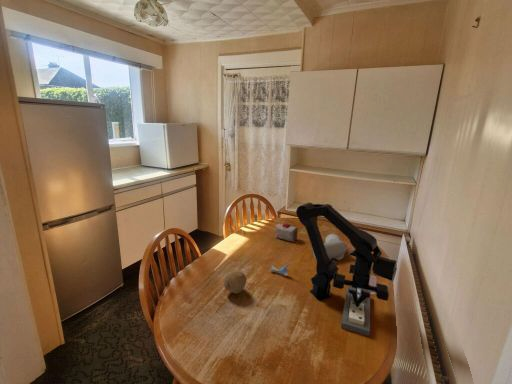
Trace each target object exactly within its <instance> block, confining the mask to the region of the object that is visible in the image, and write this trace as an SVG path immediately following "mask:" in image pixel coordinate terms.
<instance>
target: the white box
mask: <svg viewBox="0 0 512 384" xmlns="http://www.w3.org/2000/svg"><path fill="white" fill-rule="evenodd" d="M274 227H275V229H274V230H275V236H274V237H275V238H276V239H281V240H284V241H288V242H290V243H295V242H296V241H297V239H298V232H299V231H298V230H299V229H298V227H296V226H293V225H291V224H289V222H287V223H286V222H285V223H277V224H276V225H275V226H274Z"/></svg>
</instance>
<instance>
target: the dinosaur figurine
mask: <svg viewBox="0 0 512 384" xmlns="http://www.w3.org/2000/svg"><path fill="white" fill-rule="evenodd" d="M292 261H293V259H291V260H290V261H289V262H288V263H287V264H286V265H285V266H283V267H280V268H279V269H278V268H276V267H275V265H271V267H270V268H269V270H270V271H271V272H272V273H274V272H275V273H277V274H280V275H281V276H283V277H286V276H288V275H289V273H288V272H289V269H287V267H288V266H289V265H290V263H291V262H292Z"/></svg>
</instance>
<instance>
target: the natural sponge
mask: <svg viewBox="0 0 512 384" xmlns="http://www.w3.org/2000/svg"><path fill="white" fill-rule="evenodd" d="M246 284H247V276H246V275H245V273H244V272H242V270H237V269H236V270H235V269H232V270H231V271H229V272H228V273H227V274H226V276H225V278H224V280H223V286H224V289H225V290H227V291H228V292H229V291H230V292H231V293H233V294H236V295H237V294H240V293H241V292H243V290H245V286H246Z"/></svg>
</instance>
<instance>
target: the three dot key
mask: <svg viewBox="0 0 512 384" xmlns="http://www.w3.org/2000/svg"><path fill="white" fill-rule="evenodd" d="M350 308H351V309H354V310H358V311H362V312H364V304H363V303H361V304H360V305H359V306H358V307H357V306H356V305H355V302H354V301H352V300H351V301H350V305H349V310H350Z"/></svg>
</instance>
